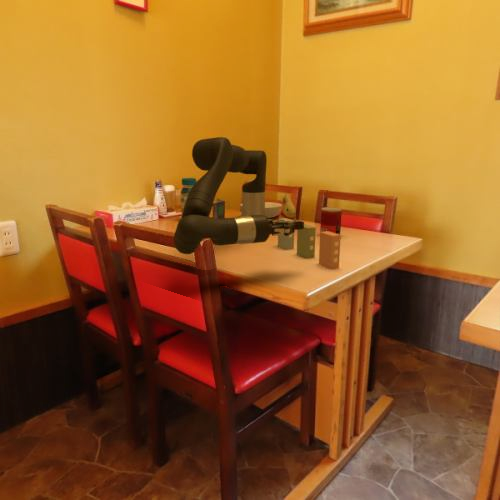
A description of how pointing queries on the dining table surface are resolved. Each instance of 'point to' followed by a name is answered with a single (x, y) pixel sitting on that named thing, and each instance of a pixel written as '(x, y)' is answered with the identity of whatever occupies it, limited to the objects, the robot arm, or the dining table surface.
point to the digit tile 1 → (286, 239)
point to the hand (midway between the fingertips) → (302, 224)
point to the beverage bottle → (186, 190)
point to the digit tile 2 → (306, 241)
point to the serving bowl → (270, 209)
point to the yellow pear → (288, 209)
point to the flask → (219, 209)
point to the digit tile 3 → (329, 249)
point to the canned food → (331, 220)
